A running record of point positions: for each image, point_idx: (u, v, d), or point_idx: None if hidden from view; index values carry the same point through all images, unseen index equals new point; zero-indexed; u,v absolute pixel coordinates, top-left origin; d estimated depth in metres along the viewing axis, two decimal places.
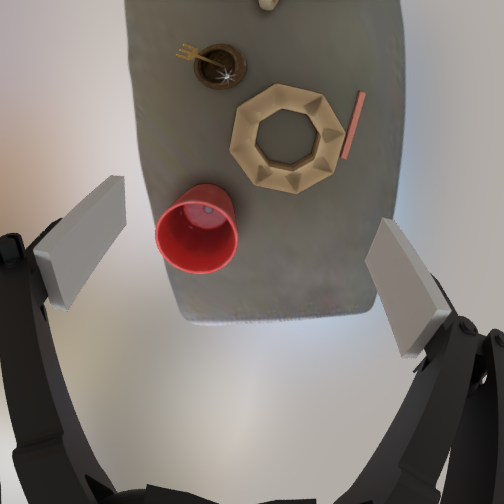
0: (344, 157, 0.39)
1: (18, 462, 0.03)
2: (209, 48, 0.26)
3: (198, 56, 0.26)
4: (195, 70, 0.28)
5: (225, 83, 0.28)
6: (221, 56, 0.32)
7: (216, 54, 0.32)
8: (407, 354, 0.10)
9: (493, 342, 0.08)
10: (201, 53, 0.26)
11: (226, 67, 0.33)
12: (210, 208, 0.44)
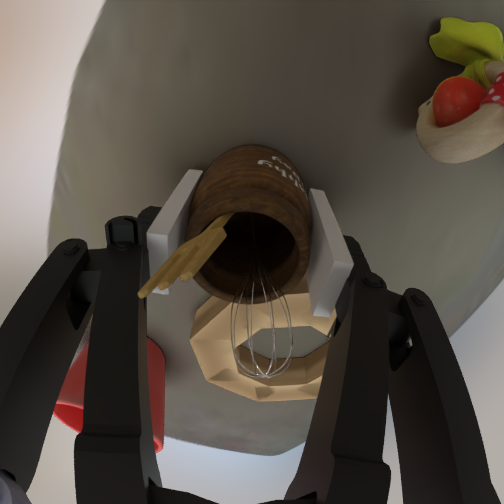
0: None
1: (80, 449, 0.03)
2: (256, 208, 0.10)
3: None
4: (188, 242, 0.11)
5: (243, 302, 0.13)
6: None
7: None
8: (317, 311, 0.11)
9: (410, 304, 0.09)
10: (227, 210, 0.10)
11: None
12: None
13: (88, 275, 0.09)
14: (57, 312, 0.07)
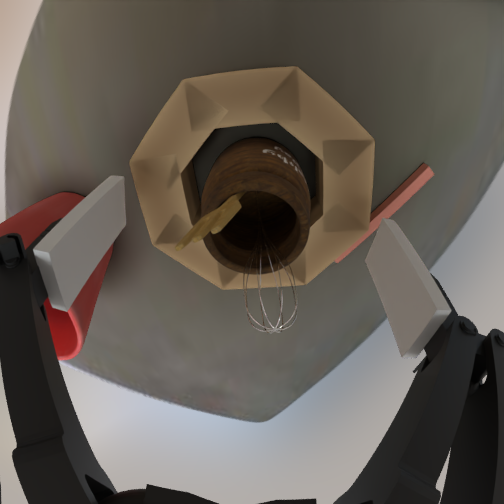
0: (336, 259, 0.22)
1: (19, 463, 0.03)
2: (263, 188, 0.12)
3: None
4: None
5: (252, 273, 0.15)
6: None
7: None
8: (407, 354, 0.10)
9: (493, 342, 0.08)
10: (239, 189, 0.12)
11: None
12: None
13: None
14: None
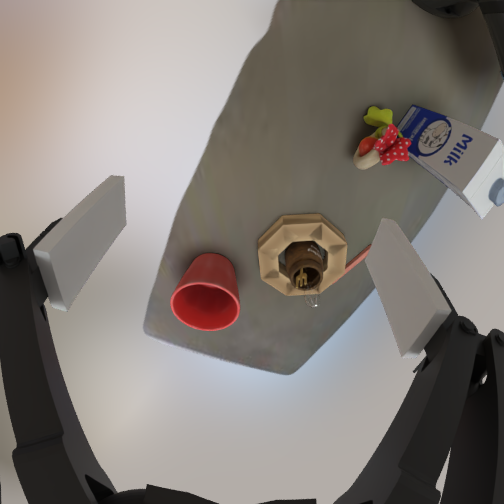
0: None
1: (18, 462, 0.03)
2: (310, 266, 0.43)
3: None
4: (292, 274, 0.44)
5: (304, 290, 0.45)
6: None
7: None
8: (407, 354, 0.10)
9: (493, 342, 0.08)
10: (303, 267, 0.43)
11: None
12: None
13: None
14: None
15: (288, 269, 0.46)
